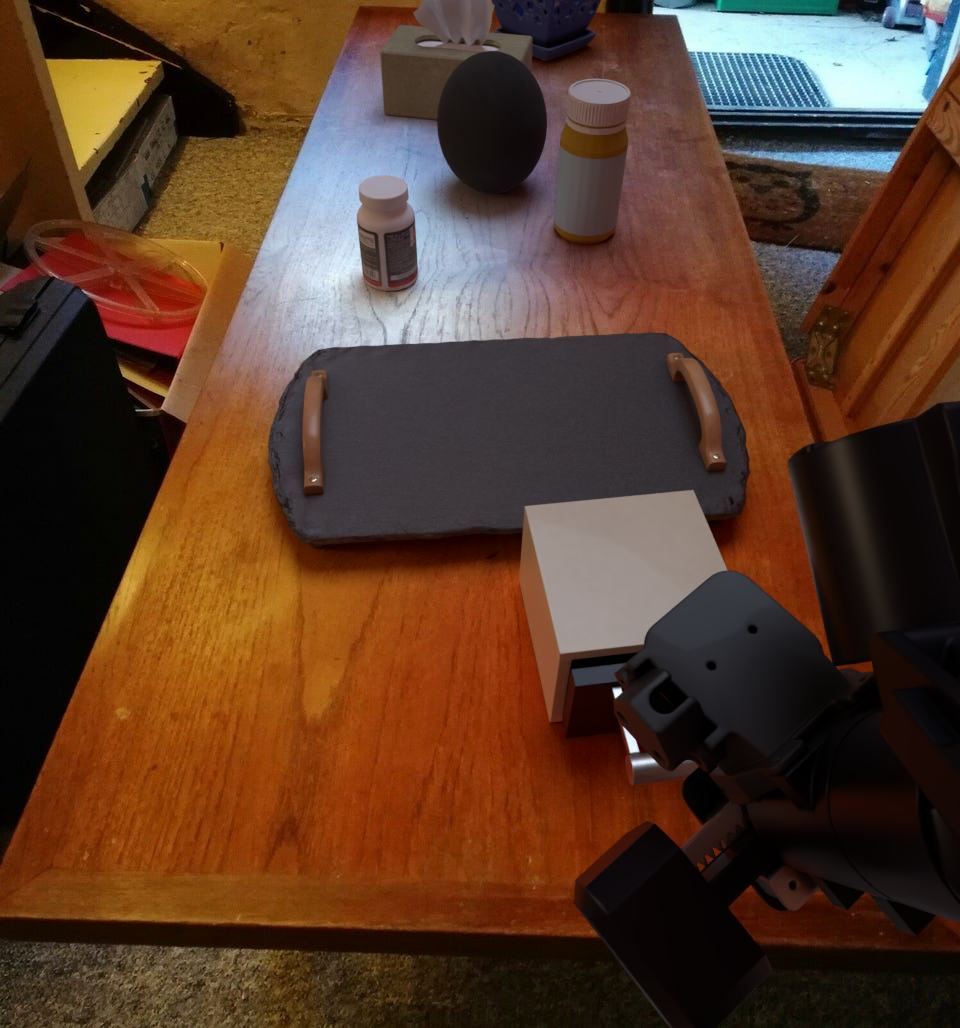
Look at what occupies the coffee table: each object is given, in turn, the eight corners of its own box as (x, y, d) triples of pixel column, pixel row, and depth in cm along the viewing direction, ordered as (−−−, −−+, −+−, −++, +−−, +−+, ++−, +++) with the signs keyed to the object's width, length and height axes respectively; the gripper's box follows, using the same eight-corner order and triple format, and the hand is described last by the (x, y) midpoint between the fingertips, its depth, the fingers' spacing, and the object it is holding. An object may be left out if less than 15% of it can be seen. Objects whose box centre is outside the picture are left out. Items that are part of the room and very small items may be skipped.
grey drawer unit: (723, 701, 56) (754, 631, 50) (549, 723, 55) (559, 654, 49) (672, 564, 64) (693, 489, 58) (518, 580, 63) (524, 505, 57)
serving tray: (696, 353, 81) (710, 297, 76) (775, 539, 66) (798, 483, 61) (282, 373, 78) (270, 316, 74) (262, 572, 63) (246, 516, 58)
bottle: (545, 239, 94) (556, 99, 83) (561, 209, 99) (574, 72, 88) (607, 251, 93) (627, 110, 82) (621, 220, 97) (641, 82, 86)
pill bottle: (420, 263, 91) (416, 173, 83) (416, 293, 87) (411, 202, 80) (366, 261, 91) (357, 171, 84) (359, 292, 87) (349, 200, 80)
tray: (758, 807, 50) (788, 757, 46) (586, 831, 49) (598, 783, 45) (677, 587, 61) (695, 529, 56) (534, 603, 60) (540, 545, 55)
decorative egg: (559, 203, 100) (571, 67, 89) (460, 222, 97) (459, 84, 85) (517, 157, 107) (523, 26, 96) (424, 173, 104) (419, 40, 93)
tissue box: (381, 115, 115) (372, -18, 103) (400, 86, 121) (393, -43, 110) (520, 128, 113) (526, -6, 101) (531, 98, 119) (538, -32, 107)
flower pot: (539, 25, 138) (544, -62, 129) (604, 47, 132) (614, -42, 123) (482, 46, 132) (483, -43, 123) (548, 71, 126) (554, -21, 117)
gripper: (936, 416, 28) (753, 530, 43) (500, 790, 24) (466, 773, 39) (1191, 684, 27) (908, 706, 42) (769, 1137, 22) (625, 980, 37)
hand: (729, 782), depth 40 cm, fingers closed
